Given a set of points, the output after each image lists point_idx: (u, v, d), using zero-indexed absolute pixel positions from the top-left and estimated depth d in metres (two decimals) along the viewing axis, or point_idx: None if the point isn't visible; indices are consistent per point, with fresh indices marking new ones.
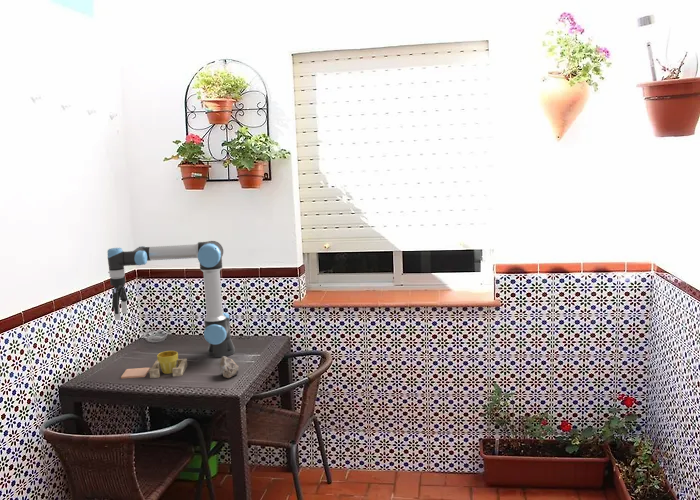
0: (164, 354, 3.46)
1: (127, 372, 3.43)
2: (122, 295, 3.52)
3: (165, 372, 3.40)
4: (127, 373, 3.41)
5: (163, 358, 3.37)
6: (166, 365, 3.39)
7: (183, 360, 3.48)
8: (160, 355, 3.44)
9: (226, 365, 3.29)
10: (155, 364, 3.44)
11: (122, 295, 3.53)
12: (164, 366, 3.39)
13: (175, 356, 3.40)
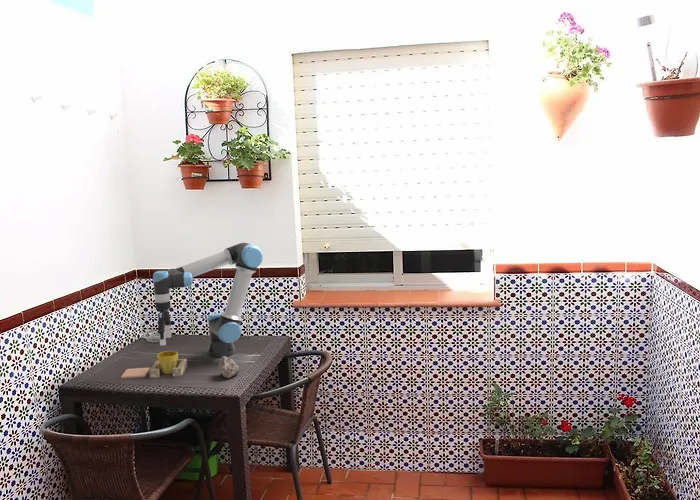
0: (164, 354, 3.46)
1: (127, 372, 3.43)
2: (166, 319, 3.43)
3: (165, 372, 3.40)
4: (127, 373, 3.41)
5: (163, 358, 3.37)
6: (166, 365, 3.39)
7: (183, 360, 3.48)
8: (160, 355, 3.44)
9: (226, 365, 3.29)
10: (155, 364, 3.44)
11: (166, 319, 3.44)
12: (164, 366, 3.39)
13: (175, 356, 3.40)
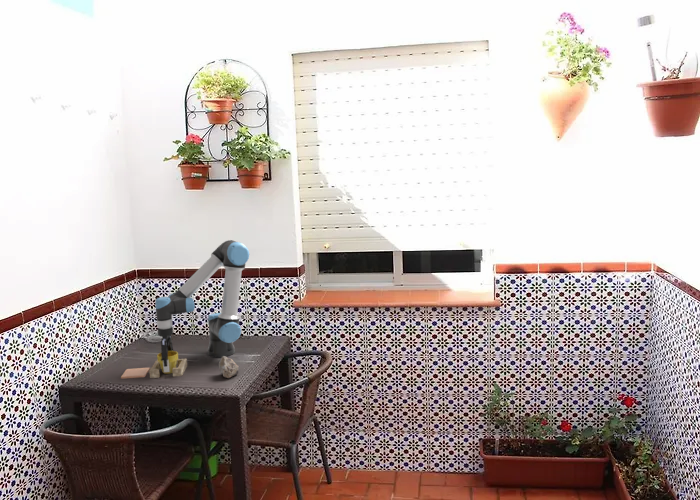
0: None
1: (127, 372, 3.43)
2: (169, 346, 3.45)
3: (165, 372, 3.40)
4: (127, 373, 3.41)
5: None
6: None
7: (183, 360, 3.48)
8: (160, 355, 3.44)
9: (226, 365, 3.29)
10: (155, 364, 3.44)
11: (168, 346, 3.45)
12: None
13: (175, 356, 3.40)
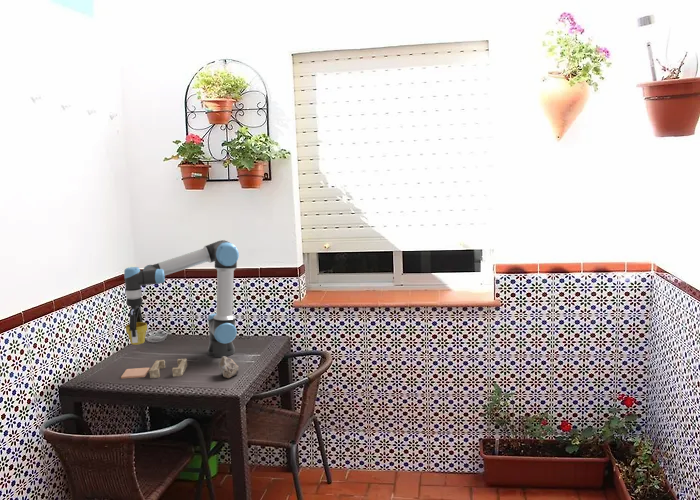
0: None
1: (127, 372, 3.43)
2: (138, 317, 3.41)
3: (134, 343, 3.36)
4: (127, 373, 3.41)
5: None
6: None
7: (183, 360, 3.48)
8: (129, 326, 3.40)
9: (226, 365, 3.29)
10: (155, 364, 3.44)
11: (138, 317, 3.41)
12: None
13: (144, 327, 3.36)
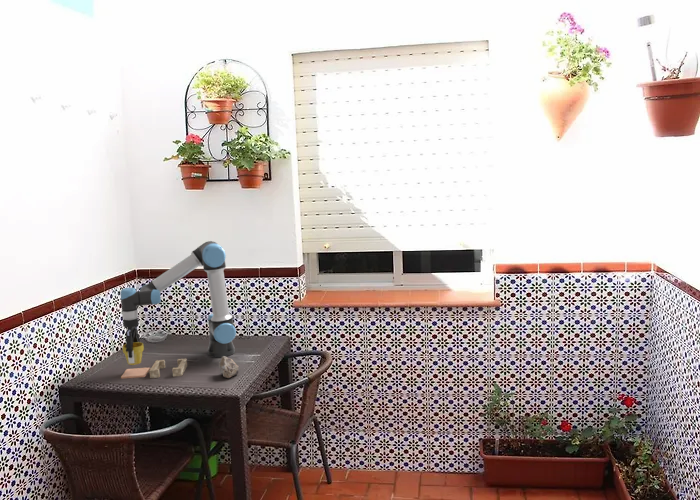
0: None
1: (127, 372, 3.43)
2: (135, 337, 3.43)
3: (130, 363, 3.38)
4: (127, 373, 3.41)
5: None
6: None
7: (183, 360, 3.48)
8: None
9: (226, 365, 3.29)
10: (155, 364, 3.44)
11: (134, 337, 3.43)
12: None
13: (140, 347, 3.38)
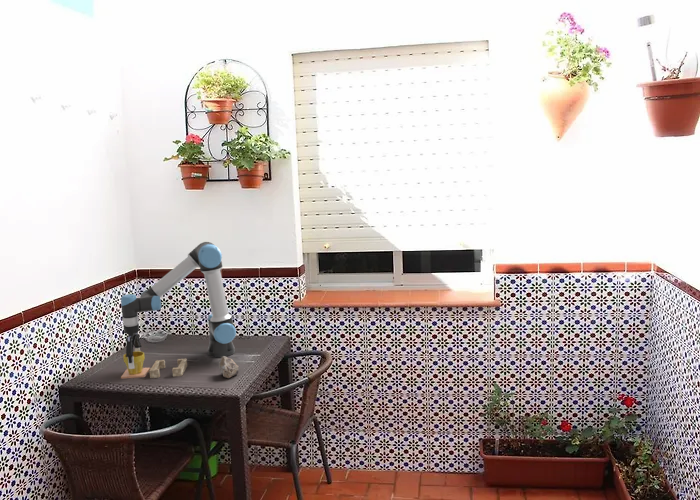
0: None
1: (127, 372, 3.43)
2: (136, 342, 3.44)
3: (131, 373, 3.39)
4: (127, 373, 3.41)
5: None
6: None
7: (183, 360, 3.48)
8: None
9: (226, 365, 3.29)
10: (155, 364, 3.44)
11: (135, 342, 3.44)
12: None
13: (141, 357, 3.38)
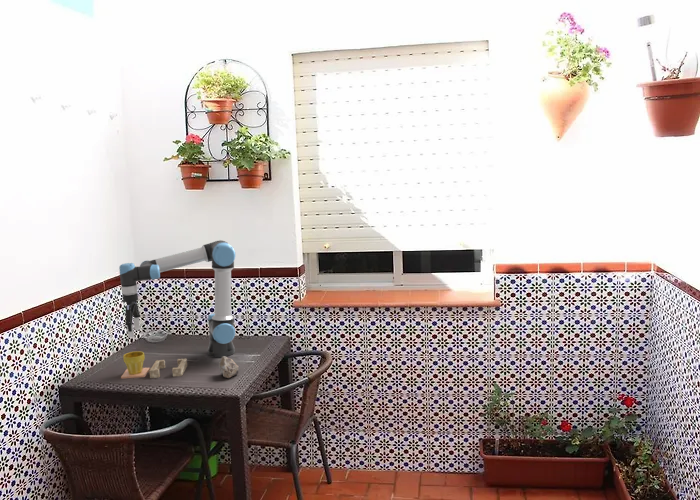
0: (130, 355, 3.44)
1: (127, 372, 3.43)
2: (135, 311, 3.43)
3: (131, 373, 3.39)
4: (127, 373, 3.41)
5: (129, 359, 3.35)
6: (132, 366, 3.37)
7: (183, 360, 3.48)
8: (126, 356, 3.42)
9: (226, 365, 3.29)
10: (155, 364, 3.44)
11: (134, 312, 3.43)
12: (130, 367, 3.37)
13: (141, 357, 3.38)
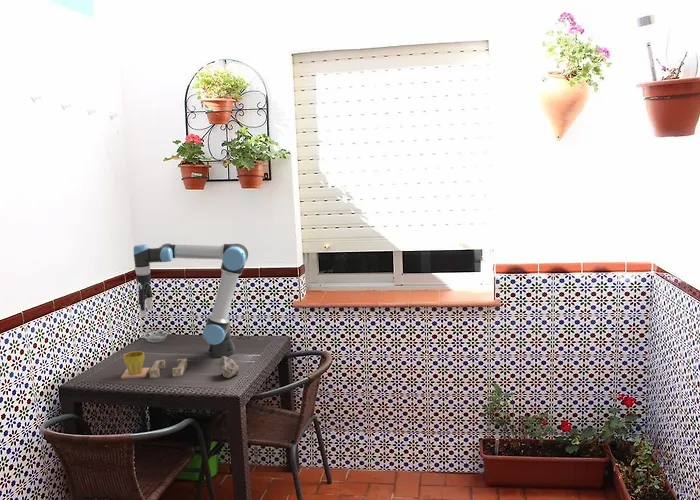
0: (130, 355, 3.44)
1: (127, 372, 3.43)
2: (147, 292, 3.54)
3: (131, 373, 3.39)
4: (127, 373, 3.41)
5: (129, 359, 3.35)
6: (132, 366, 3.37)
7: (183, 360, 3.48)
8: (126, 356, 3.42)
9: (226, 365, 3.29)
10: (155, 364, 3.44)
11: (147, 292, 3.55)
12: (130, 367, 3.37)
13: (141, 357, 3.38)
